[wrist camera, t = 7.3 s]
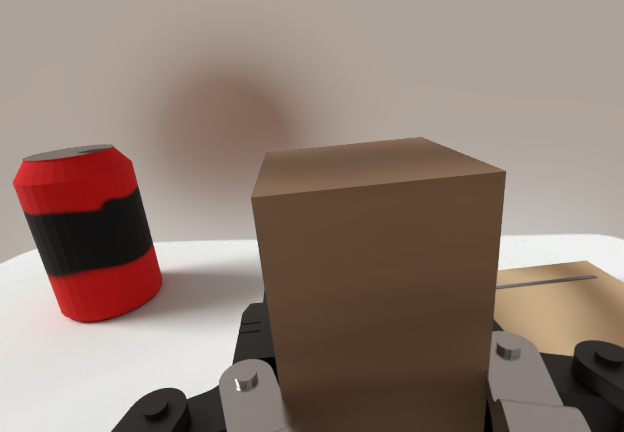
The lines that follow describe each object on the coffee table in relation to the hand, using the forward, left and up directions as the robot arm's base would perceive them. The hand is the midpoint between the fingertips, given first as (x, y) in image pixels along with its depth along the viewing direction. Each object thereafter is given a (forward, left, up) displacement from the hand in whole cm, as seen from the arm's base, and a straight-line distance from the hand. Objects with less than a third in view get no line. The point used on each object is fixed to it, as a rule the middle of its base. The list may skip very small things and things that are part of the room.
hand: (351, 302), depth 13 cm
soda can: (-24, -2, -8) cm, 26 cm away
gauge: (-2, +2, -8) cm, 8 cm away
